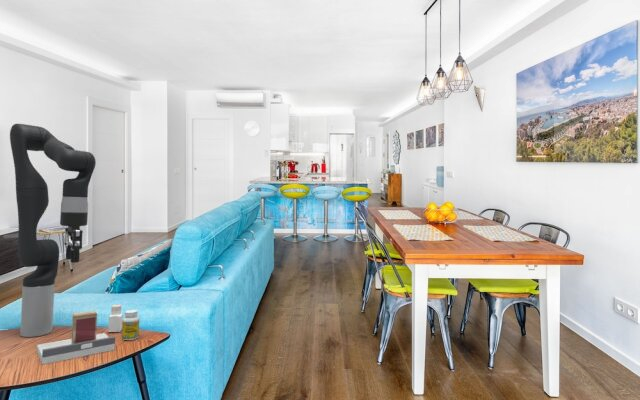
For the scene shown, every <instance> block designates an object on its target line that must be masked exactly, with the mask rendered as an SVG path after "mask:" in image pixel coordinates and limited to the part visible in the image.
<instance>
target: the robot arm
mask: <svg viewBox="0 0 640 400" xmlns="http://www.w3.org/2000/svg"><path fill="white" fill-rule="evenodd" d="M9 142H10V147H11V154H12V159H13V164H14V175H15V176H14V177H15V193H16V194H15V196H16V197H15V199H16V205H17V216H18V217H17V219H18V234H17V235H18V237H17V256H18V261H19V263H20V264H21V266H23V267H25V268H31V267H32V268H33V267H36V269H35V270H34V271H33V272H31V273H30V274H28V275H26V276H25V277H23V279H22V292H21V311H20V313H21V314H20V315H21V316H20V330H19V335H20V336H21V337H22V338H23V337H24V338H34V337H41V336H45V335H47V334H48V335H49V334H50V333H52V332H53V324H54V323H53V322H54V302H55V281H56V278H57V276H58V270H59V263H60V262H59V261H60V247H59V244H58V243H57V241H55V240H54V239H50V238H48V239H47V238H46V239H37V229H38V224H39V223H40V220H41V218H42V217H43V216H44V214H45V212H46V210H47V208H48V206H49V203H50V199H49V188H48V183H47V182H46V181H45V179H44V178H43V176H42V175H41V174H40V172H38V170H37V169H36V168H35V167H34V166H33V163H32V162H31V159H30V158H29V157H30V156H29V153H28V151H31V152H43V153H44V155H45V157H47V158H48V159H50V160H51V161H53V162H55V163H56V164H57V166H58V168H59V169H61V170H63V171H67V172H76V173H78V174H77V175H76V176H75V177H73V178H67V179H65V180H63V182H62V193H61V194H62V196H61V203H60V215H59V216H60V217H59V218H60V220H59V225H60V226H62V227H65V229H64V231H65V232H64V233H65V234H64V243H63V244H64V247H65V259H66V260H70V263H74V264H75V263H79V262H80V252H81V250H82V248H83V229H81V228H80V227H85V226H87V225H88V219H89V218H88V217H89V216H88V214H89V201H88V200H89V199H88V197H89V185H90V182H91V178H92V176H93V173H94V170H95V168H96V158H95V155H94V154H93V153H92V152H90V151H85V150H78V149H75V148H73V146H71V145H70V144H67V143H65V142H62V141H61V140H59V139H58V138H57V137H55V136H54V135H53V134H52V133H51V132H50V130H48V129H46V128H44V127H42V126H39V125H31V124H27V123H26V124H25V123H15V124H13V125H12V126H11V127H10V131H9Z"/></svg>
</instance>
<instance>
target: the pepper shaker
mask: <svg viewBox="0 0 640 400" xmlns="http://www.w3.org/2000/svg"><path fill="white" fill-rule="evenodd" d="M121 311H122V304H113V305H111V313H110V315H108V327H107V329H108V330H107V331H108V333H109V332H119V333H120V332H122V321H123V318H124V317H123V315H124V314H123V313H122V312H121Z"/></svg>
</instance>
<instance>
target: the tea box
mask: <svg viewBox="0 0 640 400" xmlns="http://www.w3.org/2000/svg"><path fill="white" fill-rule="evenodd" d="M97 324H98V313H97V312H96V310H92V311H91V310H90V311H83V312H75V313H72V321H71V338H70V339H71V344H75V343H81V342H86V341H92V340H96V334H97Z"/></svg>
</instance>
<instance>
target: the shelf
mask: <svg viewBox="0 0 640 400" xmlns="http://www.w3.org/2000/svg"><path fill="white" fill-rule="evenodd" d="M71 339H72V338H68V339H63V340H58V341H52V342H45V343H40V344H36V352H37V355H38V358H39V360H40V362H41V365H47V364H52V363H57V362H62V361H67V360H71V359H72V360H73V359H78V358H82V357H85V356H87V357H88V356H92V355H96V354H100V353H101V354H102V353H105V352H110V351H115V350H116V349H115V348H116V337H115V336H108V335H107V334H106V332H102V333H96V340H92V341H86V342H81V343H75V344H71Z"/></svg>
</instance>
